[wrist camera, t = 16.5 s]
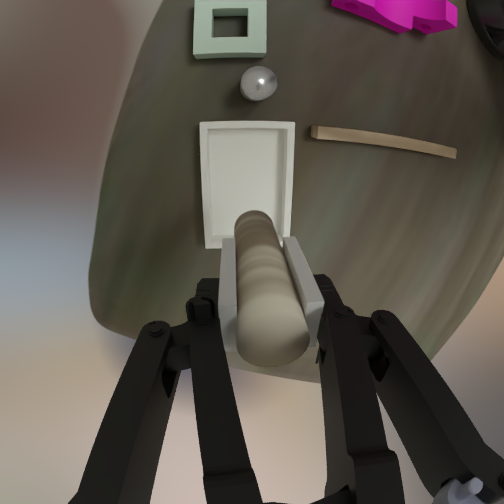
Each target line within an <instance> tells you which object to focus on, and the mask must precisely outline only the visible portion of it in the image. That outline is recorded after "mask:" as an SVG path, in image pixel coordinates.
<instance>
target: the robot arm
mask: <svg viewBox="0 0 504 504" xmlns="http://www.w3.org/2000/svg"><path fill="white" fill-rule="evenodd" d="M467 5H468V11H469V14H470V17H471V20H472V23H473V25H474V27H475V29H476V31H477V33H478V35H479V37H480V38H481V40H482V42H483V43H484V44H485V46H486V47H487V48H488V50H489V51H490V52H491V53H492V54H493V55H494V56H495V57H497V58H498V59H500V60H502V61H504V0H467ZM282 251H283V254H284V257H285V260H286V263H287V266H288V269H289V272H290V275H291V278H292V281H293V284H294V287H295V290H296V293H297V296H298V299H299V302H300V305H301V308H302V311H303V314H304V318H305V321H306V324H307V327H308V330H309V334H310V343H309V346H308V347H314V346H316V342H317V339H318V342H319V350H318V354H317V358H316V363H318V360H319V368H320V378H321V387H322V400H323V410H324V425H325V440H326V458H327V482H326V486H325V496H324V498H323V499H321V500H318V501H316V502H313V503H311V504H405V499H404V492H403V486H402V479H401V472H400V467H399V461H398V457H397V454H396V453H395V452H394V451H392V450H389V448H388V446H387V442H386V436H385V431H384V426H383V421H382V416H381V412H380V407H379V403H378V398H377V395H376V393H377V394H378V396H379V398H380V400H381V402H382V404H383V406H384V408H385V409H386V411H387V413H388V415H389V417H390V419H391V421H392V423H393V425H394V427H395V429H396V431H397V433H398V435H399V437H400V438H401V441H402V443H403V445H404V446H405V449H406V451H407V453H408V455H409V457H410V459H411V461H412V463H413V465H414V467H415V469H416V471H417V473H418V475H419V477H420V479H421V481H422V483H423V484H424V486H425V488H426V489H427V490H428V492H429V493H430V494H431V495H432V496H433V497H434V501H433V503H432V504H494V503H496V502H497V501H499V500H501V499H503V498H504V459H503V458H502V457H500V456H499V455H498V454H497V453H496V452H495V451H493V450H492V449H491V448H490V447H488V446H487V445H486V444H485V443H484V441H483V439H482V438H481V436H480V434H479V433H478V431H477V430H476V428H475V427H474V425H473V423H472V422H471V420H470V418H469V417H468V415H467V414H466V412H465V411H464V409H463V408H462V406H461V405H460V403H459V402H458V400H457V399H456V397H455V396H454V394H453V393H452V391H451V390H450V388H449V387H448V385H447V384H446V382H445V381H444V380H443V378H442V377H441V375H440V374H439V373H438V372H437V370H436V368H435V367H434V366H433V364H432V363H431V361H430V360H429V359H428V357H427V356H426V355H425V353H424V352H423V351H422V349H421V348H420V347H419V345H418V344H417V343H416V341H415V340H414V339H413V337H412V336H411V335H410V333H409V332H408V331H407V330H406V328H405V327H404V326H403V324H402V323H401V322H400V321H399V319H398V318H397V317H396V316H395V315H394V314H393V313H391V312H389V311H386V310H377V311H374V312H373V314H372V316H371V318H370V317H362V316H357V315H355V313H354V311H353V310H352V309H351V308H350V307H348V306H345V305H344V304H343V302H342V300H341V298H340V296H339V294H338V292H337V291H336V289H335V287H334V285H333V283H332V281H331V279H330V278H328V277H327V276H326V275H325V274H318V275H313V274H312V272H311V270H310V268H309V265H308V263H307V261H306V259H305V257H304V254H303V252H302V250H301V248H300V246H299V244H298V241H297V239H296V237H283V248H282ZM186 312H187V318H188V321H187V322H186V323H184V324H181V325H178V326H174V327H170V325H169V324H168V323H166V322H164V321H153V322H149V323H148V324H146V325H145V326H144V327H143V328H142V330H141V332H140V334H139V336H138V338H137V340H136V343H135V345H134V347H133V349H132V352H131V354H130V356H129V358H128V360H127V363H126V365H125V367H124V369H123V372H122V374H121V377H120V379H119V381H118V384H117V386H116V388H115V391H114V393H113V396H112V398H111V400H110V403H109V405H108V408H107V410H106V413H105V416H104V418H103V421H102V423H101V426H100V428H99V431H98V434H97V437H96V439H95V442H94V445H93V447H92V450H91V453H90V456H89V459H88V462H87V465H86V468H85V471H84V474H83V477H82V480H81V483H80V486H79V489H78V492H77V493H76V495H75V496H74V497H73V498H72V499H71V500H70V502H69V503H68V504H150V499H151V494H152V489H153V485H154V480H155V475H156V471H157V466H158V462H159V457H160V453H161V449H162V444H163V440H164V436H165V431H166V427H167V423H168V420H169V416H170V412H171V408H172V403H173V400H174V395H175V392H176V388H177V384H178V380H179V376H180V373H181V370H185V369H189V368H191V372H192V383H193V393H194V403H195V412H196V421H197V429H198V437H199V444H200V452H201V459H202V465H203V473H204V474H203V483H204V490H205V495H206V501H207V504H285V503H276V502H269V503H263V501H262V498H261V495H260V491H259V487H258V483H257V480H256V477H255V473H254V471H253V469H252V467H251V463H250V460H249V456H248V452H247V448H246V444H245V439H244V436H243V431H242V427H241V423H240V418H239V414H238V410H237V406H236V401H235V396H234V392H233V387H232V382H231V378H230V373H229V368H228V363H227V358H226V353H225V351H238V350H237V341H236V325H237V297H236V257H235V238H222V252H221V266H220V278H203V279H201V281H200V282H199V283H198V284H197V289H196V295H195V297H193V298H191V299H189V300H188V301H187V303H186Z"/></svg>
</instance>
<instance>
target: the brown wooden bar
mask: <svg viewBox="0 0 504 504" xmlns="http://www.w3.org/2000/svg"><path fill="white" fill-rule="evenodd" d="M311 137H313V138H316V139H327V140H339V141H349V142H359V143H367V144H375V145H383V146H390V147H396V148H403V149H409V150H414V151H420V152H425V153H430V154H435V155H440V156H445V157H449V158H454V159H456V153H457V149H455V148H452V147H448V146H445V145H441V144H436V143H432V142H427V141H423V140H418V139H413V138H408V137H402V136H397V135H391V134H385V133H378V132H372V131H364V130H357V129H348V128H339V127H329V126H317V125H311Z"/></svg>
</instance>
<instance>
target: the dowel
mask: <svg viewBox="0 0 504 504" xmlns="http://www.w3.org/2000/svg"><path fill="white" fill-rule="evenodd" d="M234 238H235V257H236V297H237V325H236V341H237V350H238V353H239V354H240V356H241V357H242V358H243V359H244V360H245V361H247V362H248V363H250V364H253V365H256V366H260V367H278V366H282V365H286V364H288V363H291V362H293V361H294V360H296V359H298V358H299V357H300V356H301V355H302V354H303V353H304V352H305V351H306V349H307V348H308V346H309V343H310V334H309V330H308V327H307V324H306V321H305V318H304V314H303V311H302V308H301V305H300V302H299V299H298V296H297V293H296V290H295V287H294V284H293V281H292V278H291V275H290V272H289V269H288V266H287V263H286V260H285V257H284V254H283V251H282V248H281V245H280V242H279V239H278V236H277V233H276V230H275V228H274V225H273V222H272V220H271V218H270V217H269V216H268V215H267V214H266V213H264V212H262V211H258V210H251V211H247V212H245V213H243V214H242V215H240V216H239V217H238V219H237V220H236V222H235V226H234Z"/></svg>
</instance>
